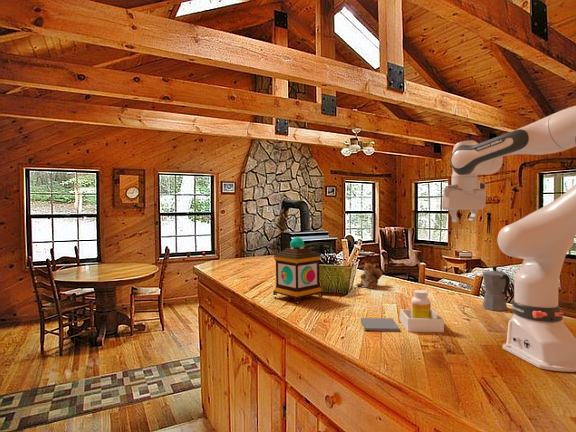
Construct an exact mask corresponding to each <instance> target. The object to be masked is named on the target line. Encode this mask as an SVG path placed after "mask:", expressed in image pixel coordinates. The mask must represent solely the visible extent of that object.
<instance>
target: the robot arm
mask: <svg viewBox="0 0 576 432" xmlns="http://www.w3.org/2000/svg"><path fill="white" fill-rule="evenodd" d="M575 147H576V105H573V106H571V107H567V108H565V109H564V108H563V109H561V110H559V111H557V112H555V113H552V114H549V115H548V116H544V117H543V118H541V119H538V120H536V121H534V122H531V123H529V124H527V125H524V126H522V127H520V128H519V127H518V128H516V129H515V130H513V131H510V132H506V133H504V134H501V135H497V136H496V137H492V138H490V139H487V140H484V141H482V142H480V143H479V142H477V141H476V140H473V139H467V140H463V141H462V140H461V141H459V142H457V143H456V144H454V146H453V149H452V152H451V157H450V165H451V169H452V173H451V176H450V177H451V183H450V184H446V186H445V187H444V189H443V190H444V191H443V193H442V200H441V207H442V210H444V211H449V215H450V217H451V222H452V223H459V220H460V219H459V218H460V217H458V215H457V213H458V211H459V210H461V211H462V210H470V213H471V214H470V216H468V221H469V222H471V223H472V222H476V218H477V215H478V212H479V210H484V209H485V208H486V203H487V198H486V196H487V193H486V191H485V190H486V189H487V184H486V183H484V182H482V181H481V180H480V179H478V175H485V176H487V175H493V174H496V173H498V172H499V171H500V170H501V169H502V167H503V164H504V157H506V156H511V155H532V156H533V155H536V156H538V155H539V156H540V155H541V156H543V155H551V154H557V153H561V152H564V151H567V150H570V149H572V148H573V149H574V148H575ZM575 237H576V184H574V185H573V186H572V187H571V188H569V189H567V190H566V191H565V192H564V193H562V194H561V195H559V196H558V197H557V198H556V199H554V200H553V201H551V202H550V203H547V204H546V205H544V206H543V207H539V208H538V209H537V210H534V211H533V212H531V213H529V214H527V215H525V216H524V217H522V218H520V219H519V220H516V221H515V222H512V223H510V224H507V225H505V226H503V227H502V228H501V229H500V230H499V232H498V235H497V245H498V248H499V250H500V251H501V252H502V253H503V254H504V255H506V256H509V257H511V258H517V259H521V260H522V263H521V265H520V267H519V269H518V270H517V271H516V273H515V275H514V278H513V285H514V286H513V288H514V289H513V293H514V294H513V300H512V305H511V308H512V309H511V310H512V313H513V315H512V317H511V319H510V320H509V321H508V323H507V324H508V325H507V333H506V343H503V344H502V349H503V350H505V351H506V352H509V353H510V354H512V355H514V356H516V357H518V358H520V359H521V360H523V361H526V362H527V363H529V364H531V365H533V366H535V367H536V368H539V369H543V370H547V371H556V372H569V373H570V372H571V373H574V372H576V337H575V336H574V335H573V333H572V332H571V331H570V330H569V328H568V327H567V325H566V324H565V322H564V321H563V319H564V318H563V317H565V315H563V314H565V312H563V311H562V310H561V306H560V305H559V289H560V288H559V282H560V275H561V271H562V268H563V265H564V261H565V258H566V256H567V253H568V252H569V251H570V249H571V248H572V247H573V245H574V243H575Z"/></svg>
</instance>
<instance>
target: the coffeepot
mask: <svg viewBox="0 0 576 432" xmlns="http://www.w3.org/2000/svg"><path fill="white" fill-rule="evenodd" d="M497 268H498V266H492V270H486V271H482V278H483V284H484V285H483V286H484V288H485V293H484V297H483V302H482V308H483V309H484V308H485V309H484V310H488V311H491V310H492V312H505V311H507V310H508V307H507V305H508V304H507V300H506V296H505V295H507V293H508V291H509V287H510V283H511V279H510V277H509V275H508V274H507V273H505V272H502V271H498V270H497Z"/></svg>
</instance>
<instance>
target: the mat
mask: <svg viewBox="0 0 576 432" xmlns="http://www.w3.org/2000/svg"><path fill="white" fill-rule="evenodd" d="M360 322H361V324H363V325H362V327H363V326H364V327H363V330H364V329H365V330H378V331H377V332H401V331H400V329H401V328H400V327H399V326H398V324H397V323H396V322H395V320H394V318H392V317H386V318H385V317H361V318H360ZM365 330H364V331H365Z"/></svg>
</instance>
